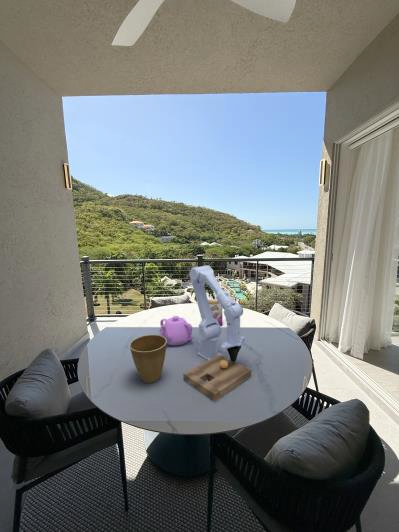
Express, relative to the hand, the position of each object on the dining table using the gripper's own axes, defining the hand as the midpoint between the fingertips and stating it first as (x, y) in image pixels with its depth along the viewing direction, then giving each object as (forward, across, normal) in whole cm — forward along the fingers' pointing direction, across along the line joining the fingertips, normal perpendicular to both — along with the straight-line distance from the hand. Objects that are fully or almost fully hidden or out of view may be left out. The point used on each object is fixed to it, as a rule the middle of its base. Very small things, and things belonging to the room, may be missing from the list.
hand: (233, 360), depth 112 cm
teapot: (+4, -3, +39) cm, 39 cm away
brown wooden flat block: (+4, -10, 0) cm, 11 cm away
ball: (-1, -6, 0) cm, 6 cm away
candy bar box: (+4, +29, +40) cm, 50 cm away
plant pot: (+4, -30, +20) cm, 36 cm away
